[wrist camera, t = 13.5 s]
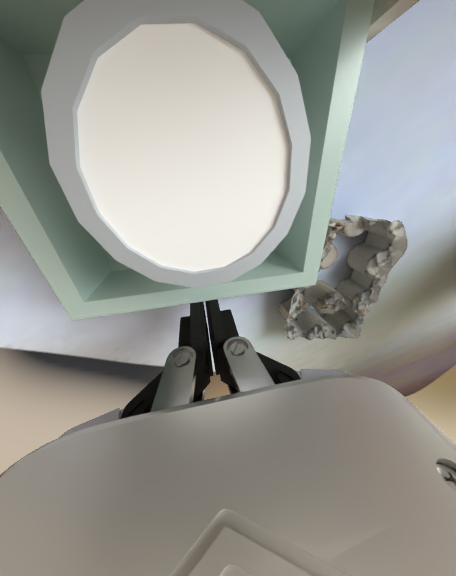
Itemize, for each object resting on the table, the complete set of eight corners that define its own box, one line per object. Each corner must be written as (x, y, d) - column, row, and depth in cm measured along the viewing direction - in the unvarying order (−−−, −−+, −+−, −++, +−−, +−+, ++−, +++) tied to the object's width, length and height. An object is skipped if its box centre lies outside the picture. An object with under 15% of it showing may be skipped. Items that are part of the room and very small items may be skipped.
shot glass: (118, 89, 9) (-45, -121, 3) (256, 116, 10) (355, 16, 4) (138, 236, 12) (86, 290, 6) (240, 241, 13) (282, 289, 7)
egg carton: (297, 208, 14) (333, 216, 10) (379, 215, 15) (435, 224, 12) (269, 321, 19) (287, 352, 15) (333, 318, 20) (363, 346, 17)
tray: (307, 36, 9) (389, -69, 5) (284, 259, 15) (315, 284, 11) (-9, 25, 8) (-215, -138, 4) (105, 281, 14) (71, 320, 10)
